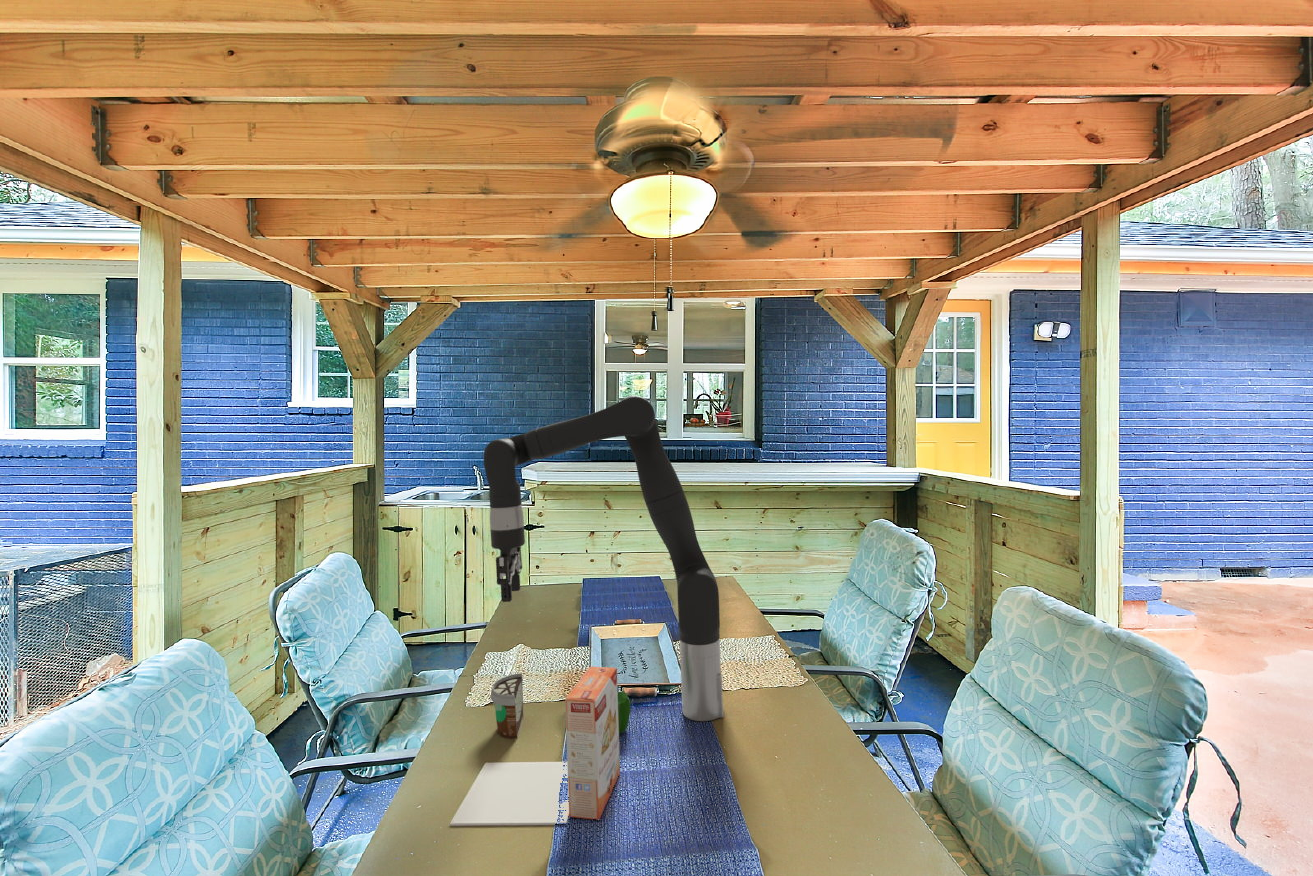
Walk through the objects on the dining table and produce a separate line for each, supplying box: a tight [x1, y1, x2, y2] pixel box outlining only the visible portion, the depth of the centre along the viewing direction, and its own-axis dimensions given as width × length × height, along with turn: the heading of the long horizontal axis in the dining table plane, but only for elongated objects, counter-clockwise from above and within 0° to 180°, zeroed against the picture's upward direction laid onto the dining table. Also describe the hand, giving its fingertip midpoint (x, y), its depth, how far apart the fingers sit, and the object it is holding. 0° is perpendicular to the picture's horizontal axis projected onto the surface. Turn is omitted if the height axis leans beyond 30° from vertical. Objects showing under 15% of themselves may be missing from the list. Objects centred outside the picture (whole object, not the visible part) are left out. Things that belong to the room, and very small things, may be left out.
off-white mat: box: [449, 761, 569, 827], centre depth 110 cm, size 20×18×1 cm
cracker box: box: [564, 666, 621, 821], centre depth 108 cm, size 14×6×21 cm, turn 168°
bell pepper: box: [618, 690, 632, 734], centre depth 130 cm, size 8×8×10 cm
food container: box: [490, 672, 524, 740], centre depth 133 cm, size 12×6×10 cm, turn 5°
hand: (511, 595), depth 136 cm, fingers open, 8 cm apart
